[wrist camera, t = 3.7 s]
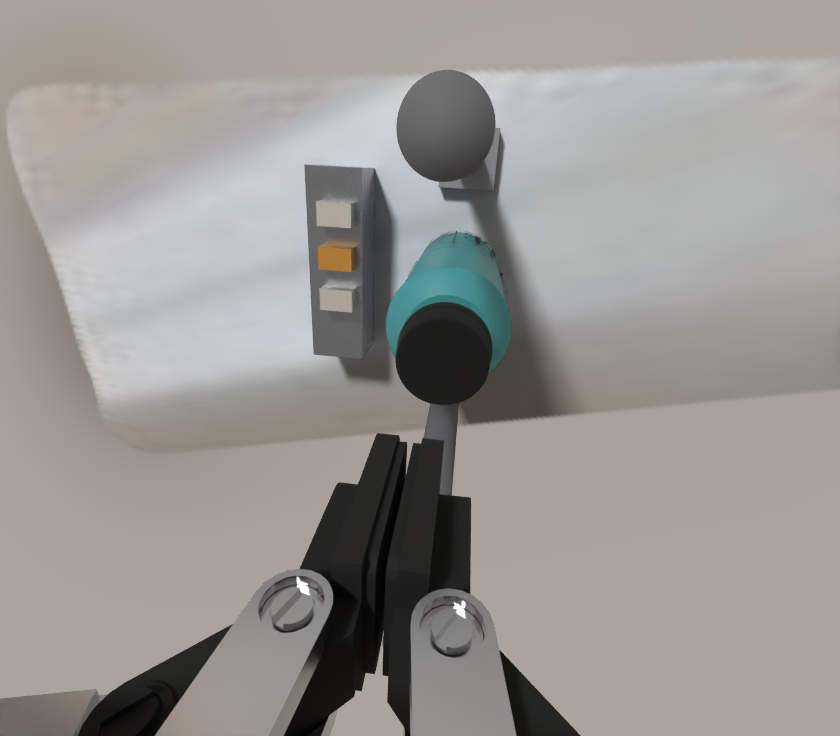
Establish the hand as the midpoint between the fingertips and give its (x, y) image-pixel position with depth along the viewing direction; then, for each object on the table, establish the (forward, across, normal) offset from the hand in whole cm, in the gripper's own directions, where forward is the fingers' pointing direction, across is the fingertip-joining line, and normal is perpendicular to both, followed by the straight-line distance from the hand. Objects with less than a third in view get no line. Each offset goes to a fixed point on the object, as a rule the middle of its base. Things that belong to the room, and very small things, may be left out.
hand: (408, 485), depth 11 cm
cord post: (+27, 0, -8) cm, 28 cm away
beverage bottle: (+28, 0, 0) cm, 28 cm away
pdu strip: (+27, +9, 0) cm, 29 cm away
